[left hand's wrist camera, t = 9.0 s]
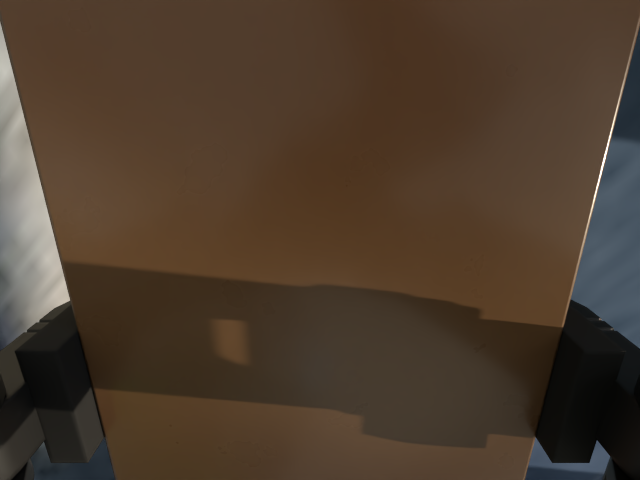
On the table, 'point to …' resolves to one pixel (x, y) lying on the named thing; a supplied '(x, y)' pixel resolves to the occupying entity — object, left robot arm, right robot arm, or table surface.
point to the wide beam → (320, 221)
